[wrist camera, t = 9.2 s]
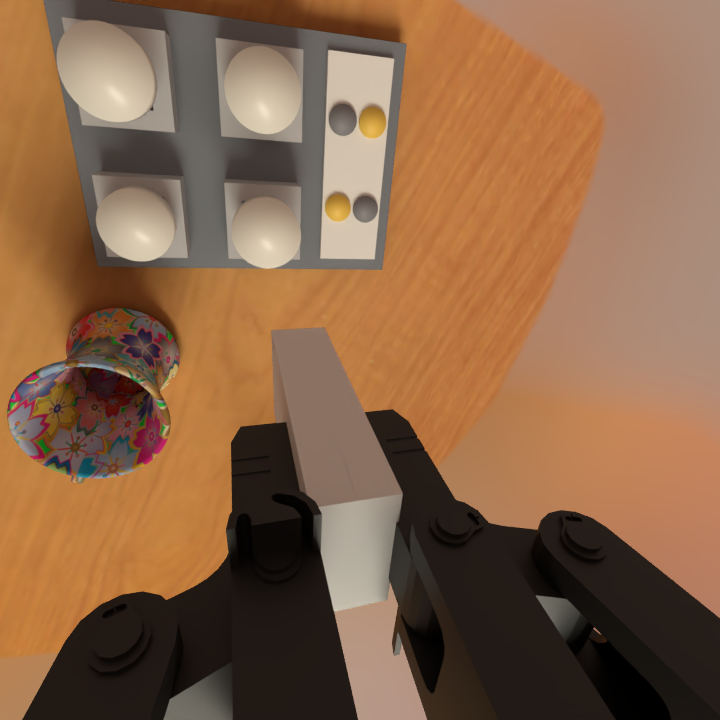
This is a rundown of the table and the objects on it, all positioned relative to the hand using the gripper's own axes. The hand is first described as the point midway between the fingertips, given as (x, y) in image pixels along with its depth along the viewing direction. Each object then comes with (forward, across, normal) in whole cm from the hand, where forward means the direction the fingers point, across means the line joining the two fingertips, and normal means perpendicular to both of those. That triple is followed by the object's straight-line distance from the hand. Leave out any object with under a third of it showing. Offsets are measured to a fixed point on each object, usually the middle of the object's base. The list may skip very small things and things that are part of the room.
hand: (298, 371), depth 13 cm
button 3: (+22, +1, 0) cm, 22 cm away
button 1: (+23, -7, 0) cm, 25 cm away
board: (+26, 0, +4) cm, 26 cm away
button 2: (+22, -7, +8) cm, 25 cm away
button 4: (+23, +1, +8) cm, 25 cm away
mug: (+26, -12, -13) cm, 31 cm away
